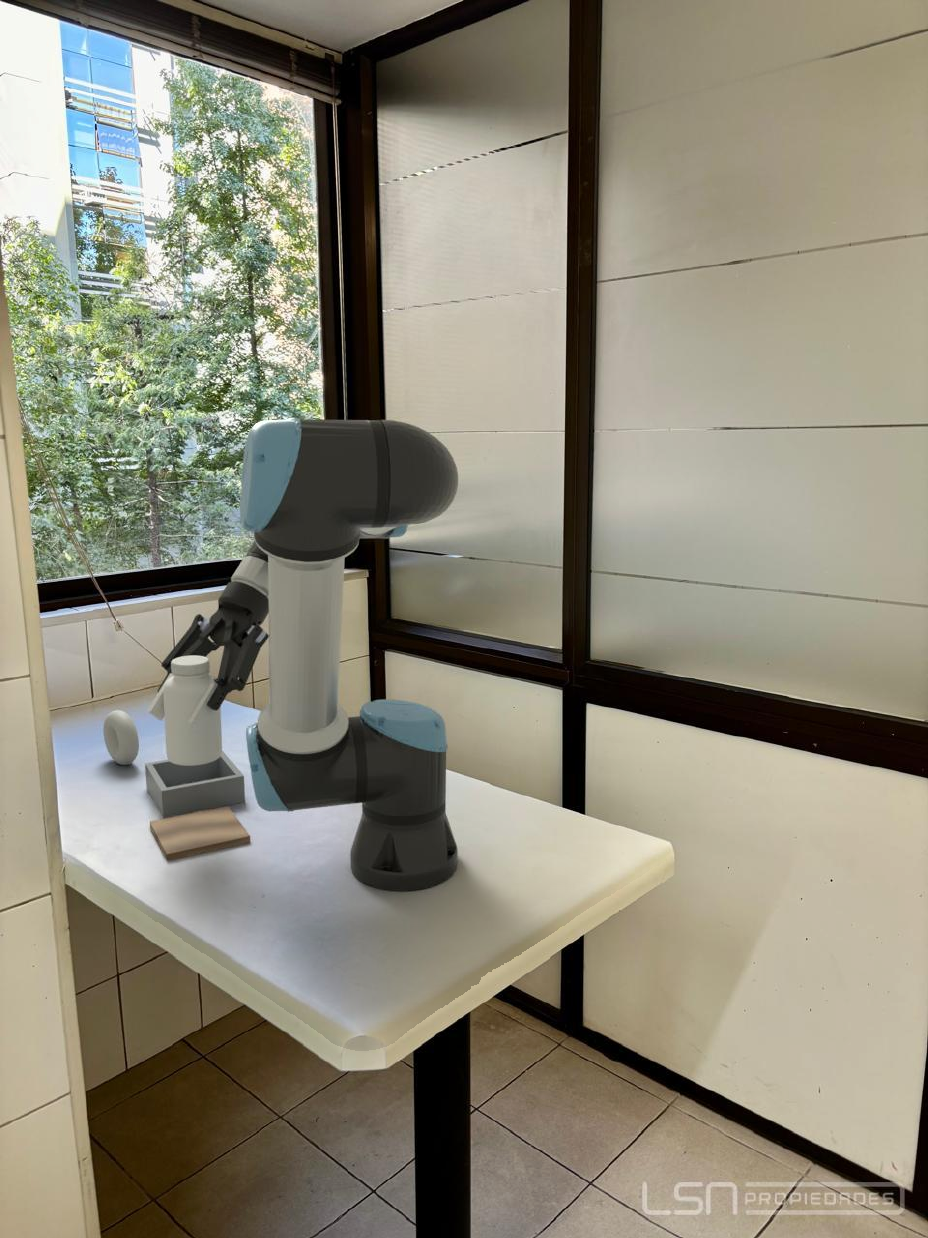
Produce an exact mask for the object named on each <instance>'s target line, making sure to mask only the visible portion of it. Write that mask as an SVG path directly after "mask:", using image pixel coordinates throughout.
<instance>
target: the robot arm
mask: <svg viewBox="0 0 928 1238" xmlns="http://www.w3.org/2000/svg"><path fill="white" fill-rule="evenodd" d="M458 472H459V471H458V467H457V464H456V462H455V459H454V457H453V455H452V454H451V452H450V451H449V449H448V448H447V447H446V445H445V444H443V443H442V442H441V441H440V440H439V439H438V438H437V437H436V436H434V435H433V434H432V433H429V431H427V430H425V429H423V428H420V427H418V426H416V425H414V424H410V423H407V422H403V421H397V420H392V419H378V420H375V419H374V420H373V419H372V420H368V419H302V418H301V419H300V418H298V417H290V418H288V419H270V420H269V419H268V420H261V421H258V422H257V423H255V424H254V425H253V426H252V427H251V429H250V430H249V432H248V435H247V437H246V441H245V447H244V452H243V459H242V468H241V477H240V488H241V490H240V497H239V498H240V499H239V514H240V515H239V516H240V524H241V527H242V528H243V530H246V531H249V532H250V533H252V534H253V536H254V537H253V539H254V541H253V542H252V544H251V545H250V548H249V549H248V551H247V553H246V554H245V555H244V557H243V558H242V560H241V561H240V563H239V565H238V566H237V568H236V569H235V571H234V573H233V574H232V576H231V577H230V578H231V579H230V580H231V581H230V582H228V583H227V584H226V586H225V588H224V589H223V591H221V592H222V593H221V594H220V596H219V597H218V598H217V599H218V600H217V602H218V603H217V605H218V608H217V610H216V611H215V613H213V614H212V615H211V616H210V617H204V616H203V615H202V614H201V613H200V614H196V615H195V616H194V619H193V621H192V623H191V625H190V627H189V628H188V629H187V630H186V632H185V633H184V635H183V636H182V637H181V638H180V639H179V640H178V642H177V643H176V645H175V646H174V647H173V649H171V650H170V652H169V654H168V655H167V656H166V657H165V658H164V660H163V661H162V663H161V667H162V668H163V669H164V670H165V671H166V673H167V674H166V675H165V677H164V679H163V680H162V682H161V684H160V685H159V687H158V688H157V694H156V696H155V697H154V699H153V700H152V702H151V703H150V705H149V707H148V708H147V710H146V711H147V712H148V713H149V714H150V715H151V716H152V717H154V718H155V719H157V720H158V721H163V720H164V719H165V716H164V697H163V687H164V684H165V682H166V681H167V680H168V679H169V678H171V677H173V675H172V671H171V662H172V660H173V659H175V658H178V657H182V656H192V655H195V656H204V657H207V656H208V655H209V654H210V653H211V652H213V651H217V650H218V649H219V648H220V647H224V648H223V652H222V656H221V660H220V664H219V671H218V673H217V674H218V675H217V678H216V677H215V678H216V680H217V681H216V680H215V679H214V681H215V682H216V683H217V684H218V685H216V684H214V683H211V684H210V685H209V687H208V689H207V690H206V692H205V694H204V695H203V697H202V699H201V701H200V702H199V704H198V706H197V707H196V709H195V711H194V712H193V714H192V716H191V717H190V719H189V721H188V723H189V724H191V725H192V726H193V727H194V728H196V729H197V730H198V731H200V732H203V731H204V729H205V727H206V725H207V724H208V722H209V720H210V719H211V717H212V715H213V713H214V712H215V710H216V711H217V710H218V709H219V708H220V706H222V704H223V703H224V701H225V699H226V697H227V696H228V695H229V693H231V692H233V691H235V690H236V691H238V692H241V691H243V690H244V688H245V687H246V684H247V683H248V680H249V678H250V674H251V672H252V670H253V667H254V666H255V663H256V661H257V658H258V655H259V653H260V651H261V648H262V647H263V646H264V645H265V643H266V642H267V641H268V684H269V685H268V686H269V687H268V689H269V690H268V691H269V695H268V696H269V702H268V703H267V704H266V705H264V706H263V708H262V709H261V711H260V713H259V714H258V717H257V722H256V723H253V724H251V725H248V726H247V727H246V730H245V737H246V738H245V739H246V748H247V749H246V750H247V755H248V760H249V761H248V762H249V767H250V768H249V769H250V775H251V780H252V787H253V790H254V795H255V799H256V803H257V804H258V806H259V807H260V809H262V810H263V811H266V812H288V813H290V812H294V811H301V810H309V809H319V808H327V807H335V806H337V807H338V806H344V805H353V804H362V805H361V808H362V809H361V813H362V814H361V817H360V820H359V823H358V827H357V828H356V829H357V830H356V832H355V834H354V835H355V836H354V839H353V842H352V844H351V848H350V854H349V855H350V857H349V858H350V859H349V860H350V862H349V863H350V864H349V865H350V870H351V873H352V874H353V875H354V877H355V878H357V880H359V881H360V882H361V883H364V884H366V885H368V886H371V887H374V888H376V889H377V888H378V889H381V890H387V891H402V892H403V891H412V890H413V891H417V890H422V889H427V888H430V887H433V886H437V885H439V884H442V883H444V882H445V881H446V880H448V879H449V878H451V876H453V875H454V873H455V872H456V871H457V869H458V866H459V865H458V858H459V855H458V854H459V852H458V851H459V850H458V845H457V842H456V839H455V836H454V834H453V830H452V827H451V825H450V822H449V819H448V815H447V811H446V810H447V808H446V803H447V801H446V798H447V797H446V796H447V795H446V794H447V751H448V748H449V747H448V742H447V732H446V731H447V729H446V728H447V727H446V723H445V720H444V717H442V715H441V714H440V713H439V712H437V711H436V710H434V709H433V708H431V707H428V706H427V705H424V704H420V703H417V702H413V701H408V700H400V699H376V700H375V699H374V700H373V701H368V702H366V703H364V704H363V705H362V706H361V709H360V710H359V713H358V715H359V716H348V712H346V710H345V708H344V707H343V706H342V705H341V704H340V703H339V684H340V665H341V645H342V623H343V622H342V620H343V602H344V597H343V596H344V581H345V579H344V578H345V558H346V557H348V556H350V555H351V554H352V553H354V552H355V550H356V549H357V548H358V546H359V543H360V539H381V540H385V539H391V538H401V537H403V536H404V535H405V534H406V532H407V528H408V526H409V525H418V524H423V523H424V524H425V523H427V522H429V521H432V520H434V519H436V518H438V517H440V516H441V515H442V514H443V513H445V512H446V511H447V510H448V508H450V506H451V505H452V503H453V501H454V500H455V497H456V495H457V492H458V487H459V473H458ZM267 616H268V633H267V631H266V630H264V628H262V626H261V625H262V624H264V622H265V620H266V618H267Z"/></svg>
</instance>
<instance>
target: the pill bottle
mask: <svg viewBox="0 0 928 1238" xmlns="http://www.w3.org/2000/svg"><path fill="white" fill-rule="evenodd" d="M171 671H172V675H173V677H171V678H169V679H168V680H167V681H166V682H165V684H164V687H163V697H164V728H165V729H164V730H165V731H164V732H165V747H166V749H165V750H166V757H167V760H169V761H170V762H172V763H174V764H177V765H185V766H193V765H202V764H206V763H210V762H213V761H215V760H217V759H218V758H219V757H220V756H221V754H222V751H223V742H222V741H223V739H222V738H223V735H222V731H223V730H222V710H221V706H222V705H221V706H220V708H219V709H218V710H217V711H216V710H215V712H214V713H213V715H212V717H211V719H210V720H209V722H208V724H207V725H206V727H205V729H204V731H203V732H200V731H198V730H197V729H196V728H194V727H193V726H192V725H191V724H189V723H188V721H189V719H190V717H191V716H192V714H193V712H194V711H195V709H196V707H197V706H198V704H199V702H200V701H201V699H202V697H203V695H204V694H205V692H206V690H207V689H208V687H209V685H210V684H211V683H214V684H216V685H218V684H217V683H216V682H215V681H214V679H215V680H216V677H215V676H214V675H213V674H210V672H211V670H210V659H209V658H208V657H207V656H206V657H204V656H195V655H192V656H182V657H178V658H175V659H173V660H172V662H171ZM216 681H217V680H216Z"/></svg>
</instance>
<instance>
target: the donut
mask: <svg viewBox="0 0 928 1238" xmlns="http://www.w3.org/2000/svg"><path fill="white" fill-rule="evenodd" d="M102 729H103V738H104V740H103V741H104V743H105V748H106V750H107V752H108V754H109V756H110V757H111V759H112V760H113V762H115V763H116V764H119V765H122V766H129V765H130V764H132V763H133V762H134V761H135V760H136V759H137V757H138V754H139V750H140V740H139V735H138V733H139V732H138V730H137V727H136V725H135V722H134V720H133V719H132V718H131V715H129V714H128V713H127V712H125V711H124V710H120V709H117V710H116V709H115V710H112V711H110V712H109V713H107V715H106V717H105V719H104V720H103V728H102Z"/></svg>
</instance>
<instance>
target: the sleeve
mask: <svg viewBox="0 0 928 1238" xmlns="http://www.w3.org/2000/svg"><path fill="white" fill-rule="evenodd" d="M144 771H145V772H144V773H145V783H146V784H145V785H146V791H147V792H148V794H149V795H150V797H151V799H152V801H153V802H154V804H155V806H156V808H157V809H158V812H159V813H160V815H161V817H162V819H165V818H170V817H175V816H180V815H185V814H190V813H195V812H200V811H205V810H210V809H215V808H220V807H225V806H231V805H235V804H240V803H244V802H245V803H246V795H245V793H246V792H245V775H244V774H243V773H242V772H241V770H239V768H238V767H237V766H236V764H234V762H233V761H232V760H231V759H230V758H229V756H228V755H227V754H226V753H225V752H224V751H223V750H222V754H221V756H220V757H219V758H218V759H217V760H215V761H213V762H210V763H206V764H202V765H193V766H185V765H177V764H174V763H172V762H170V761H169V760H168V759H164V760H157V761H151V762H146V763H144Z"/></svg>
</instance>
